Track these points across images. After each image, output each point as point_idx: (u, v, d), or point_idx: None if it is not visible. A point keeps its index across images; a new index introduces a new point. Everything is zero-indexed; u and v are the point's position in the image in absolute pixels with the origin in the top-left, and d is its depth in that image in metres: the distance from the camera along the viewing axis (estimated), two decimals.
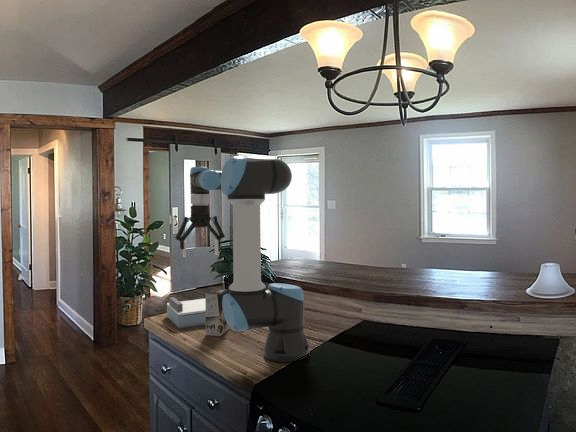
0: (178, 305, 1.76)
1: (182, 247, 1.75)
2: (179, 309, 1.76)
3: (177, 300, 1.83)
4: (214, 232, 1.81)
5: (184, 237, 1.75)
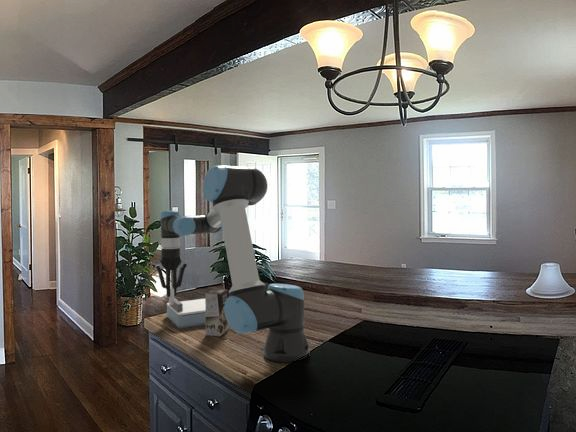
0: (178, 305, 1.76)
1: (168, 295, 1.80)
2: (179, 309, 1.76)
3: (177, 300, 1.83)
4: (175, 279, 1.81)
5: (168, 285, 1.79)
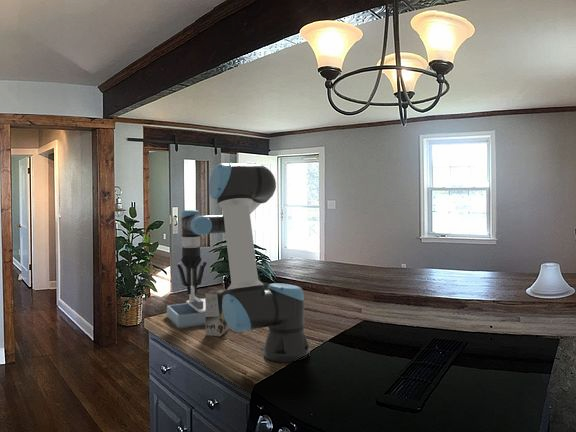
0: (199, 302, 1.80)
1: (189, 292, 1.84)
2: (200, 306, 1.80)
3: (197, 298, 1.87)
4: (195, 277, 1.85)
5: (189, 282, 1.84)
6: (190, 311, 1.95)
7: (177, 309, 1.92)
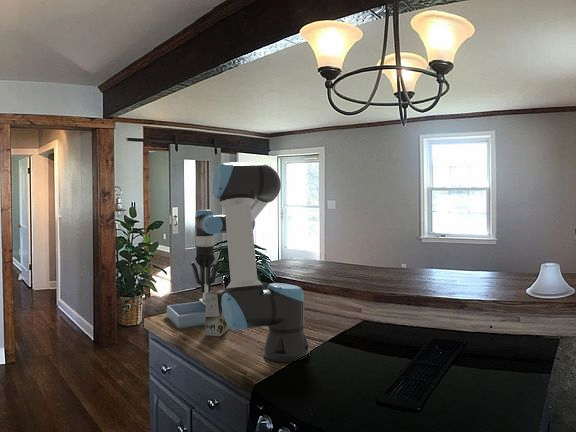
0: None
1: (203, 291, 1.87)
2: None
3: None
4: (209, 276, 1.88)
5: (203, 281, 1.86)
6: (190, 311, 1.95)
7: (177, 309, 1.92)
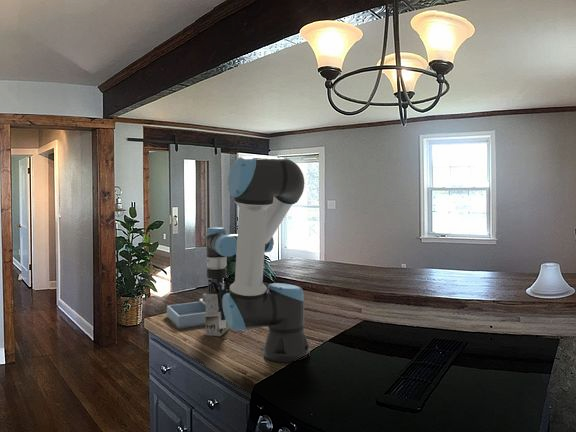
0: None
1: None
2: None
3: None
4: None
5: None
6: (190, 311, 1.95)
7: (177, 309, 1.92)
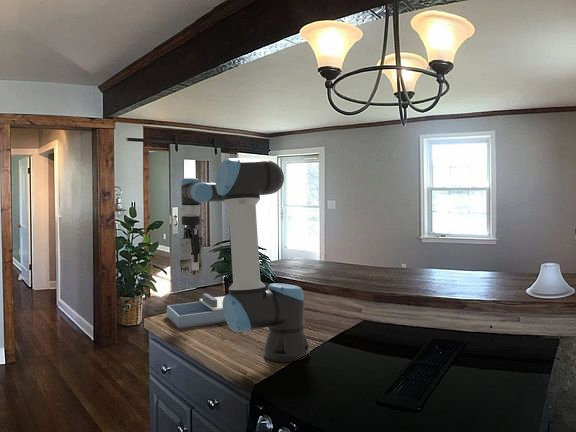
0: (213, 301, 1.83)
1: None
2: (214, 305, 1.83)
3: (211, 296, 1.90)
4: None
5: None
6: (190, 311, 1.95)
7: (177, 309, 1.92)
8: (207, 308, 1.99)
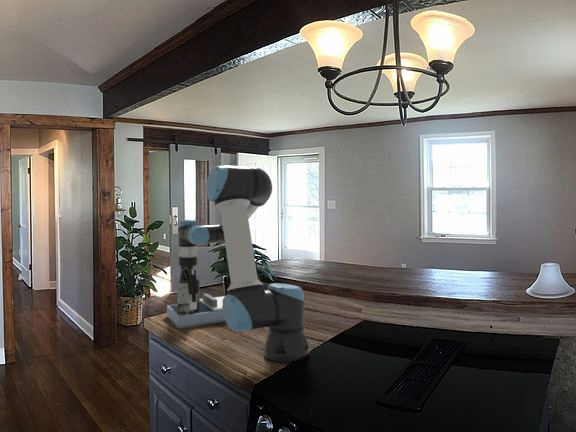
0: (213, 301, 1.83)
1: None
2: (214, 305, 1.83)
3: (211, 296, 1.90)
4: None
5: None
6: None
7: (177, 309, 1.92)
8: (207, 308, 1.99)
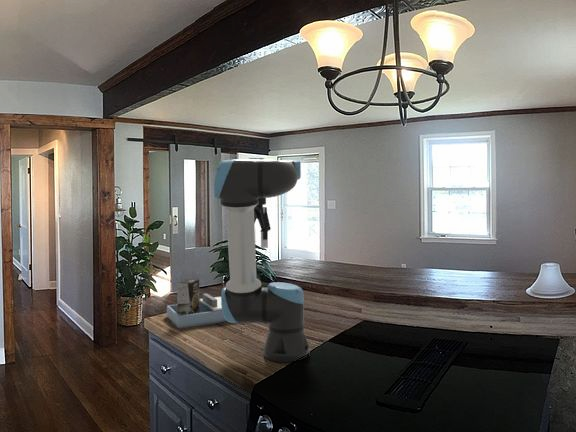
0: (213, 301, 1.83)
1: None
2: (214, 305, 1.83)
3: (211, 296, 1.90)
4: None
5: None
6: None
7: (177, 309, 1.92)
8: (207, 308, 1.99)
